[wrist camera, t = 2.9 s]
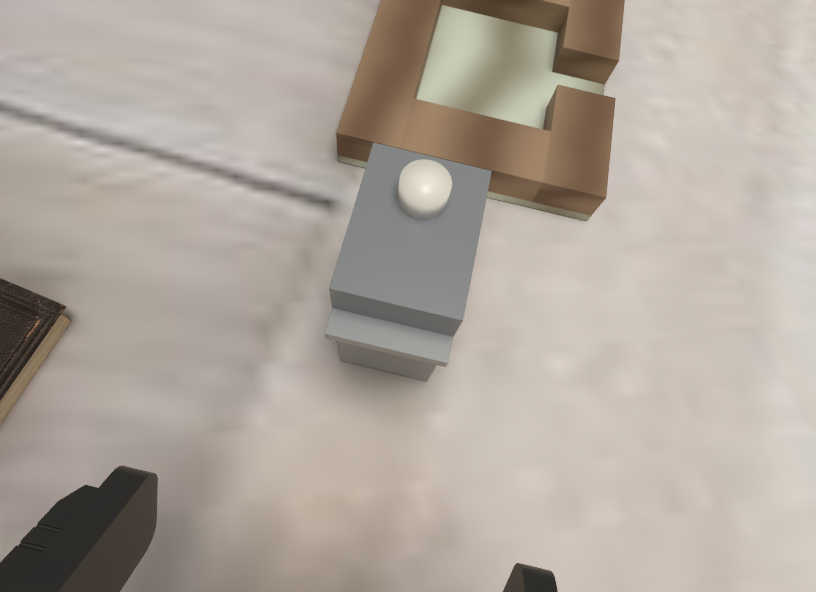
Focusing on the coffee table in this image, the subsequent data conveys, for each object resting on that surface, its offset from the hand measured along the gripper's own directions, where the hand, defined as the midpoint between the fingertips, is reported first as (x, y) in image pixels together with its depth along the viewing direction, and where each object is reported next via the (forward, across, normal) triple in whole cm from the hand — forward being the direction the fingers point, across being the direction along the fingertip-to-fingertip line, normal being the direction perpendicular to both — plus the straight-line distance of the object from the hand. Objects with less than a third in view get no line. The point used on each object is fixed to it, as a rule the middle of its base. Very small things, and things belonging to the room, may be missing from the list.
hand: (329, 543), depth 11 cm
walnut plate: (+28, -2, -10) cm, 30 cm away
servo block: (+16, 0, +2) cm, 17 cm away
